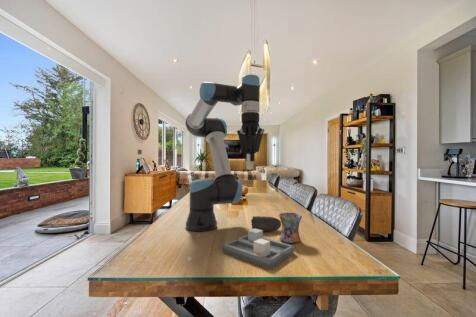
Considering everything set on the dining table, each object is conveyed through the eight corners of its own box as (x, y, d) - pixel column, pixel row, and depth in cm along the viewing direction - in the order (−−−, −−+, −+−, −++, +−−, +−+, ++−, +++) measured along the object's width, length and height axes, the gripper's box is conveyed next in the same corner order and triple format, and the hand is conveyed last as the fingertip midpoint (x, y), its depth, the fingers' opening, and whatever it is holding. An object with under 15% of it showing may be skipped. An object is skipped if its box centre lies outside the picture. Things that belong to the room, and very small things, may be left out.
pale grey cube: (248, 242, 90) (248, 230, 90) (254, 239, 93) (254, 228, 93) (256, 244, 87) (256, 232, 87) (262, 241, 90) (262, 230, 90)
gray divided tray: (222, 251, 84) (222, 244, 84) (249, 240, 97) (249, 233, 97) (269, 269, 72) (269, 260, 71) (293, 253, 84) (294, 245, 84)
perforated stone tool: (279, 228, 113) (279, 214, 113) (283, 232, 108) (283, 217, 108) (249, 229, 111) (249, 215, 111) (251, 233, 105) (251, 218, 105)
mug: (303, 245, 92) (303, 218, 92) (279, 244, 92) (280, 217, 92) (298, 235, 104) (298, 211, 104) (277, 234, 104) (277, 210, 104)
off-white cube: (253, 254, 78) (253, 241, 78) (260, 251, 81) (260, 238, 81) (263, 258, 75) (263, 244, 75) (269, 254, 79) (270, 241, 78)
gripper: (232, 113, 99) (232, 168, 99) (257, 109, 91) (257, 170, 91) (243, 116, 105) (243, 168, 105) (268, 112, 96) (267, 169, 97)
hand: (249, 169), depth 98 cm, fingers closed
